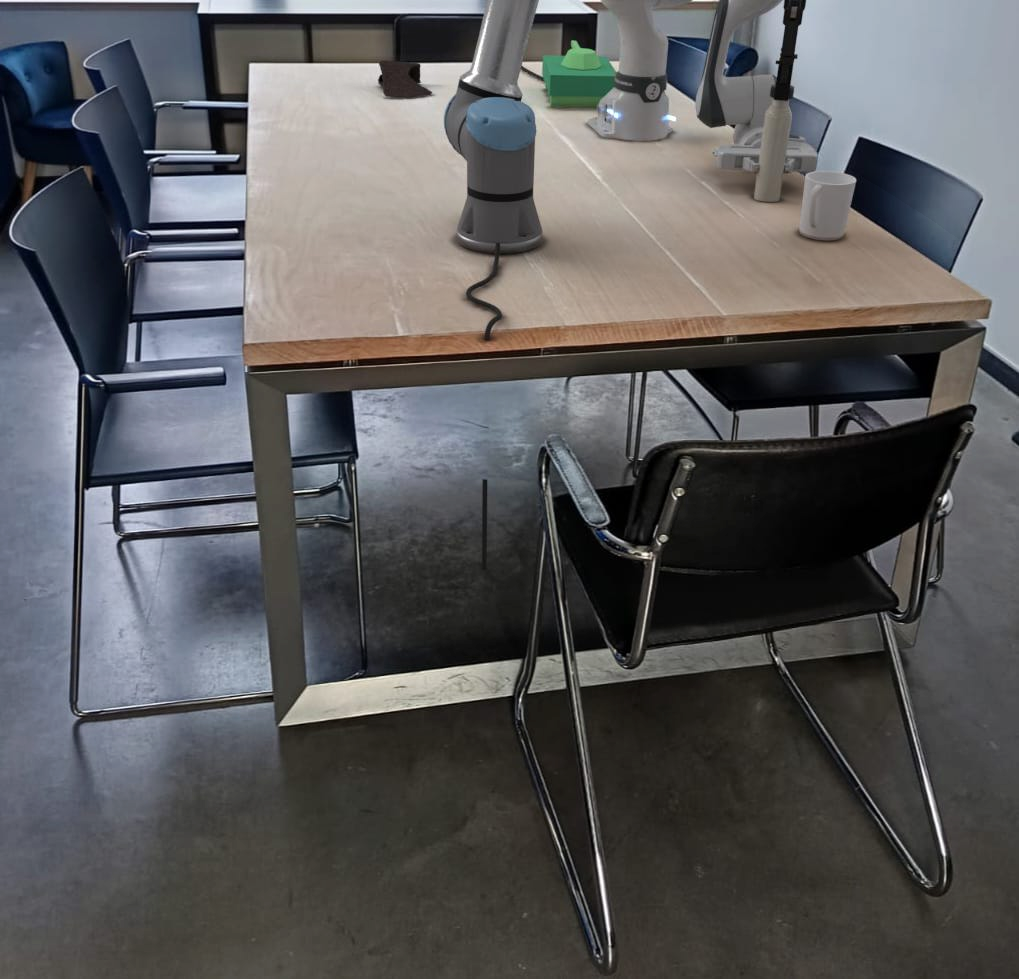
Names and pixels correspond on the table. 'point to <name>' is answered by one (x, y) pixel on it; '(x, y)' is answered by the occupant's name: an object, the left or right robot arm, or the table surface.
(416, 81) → the axe head
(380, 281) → the table surface
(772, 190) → the bottle
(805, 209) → the mug
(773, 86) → the cap
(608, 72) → the toy tank
